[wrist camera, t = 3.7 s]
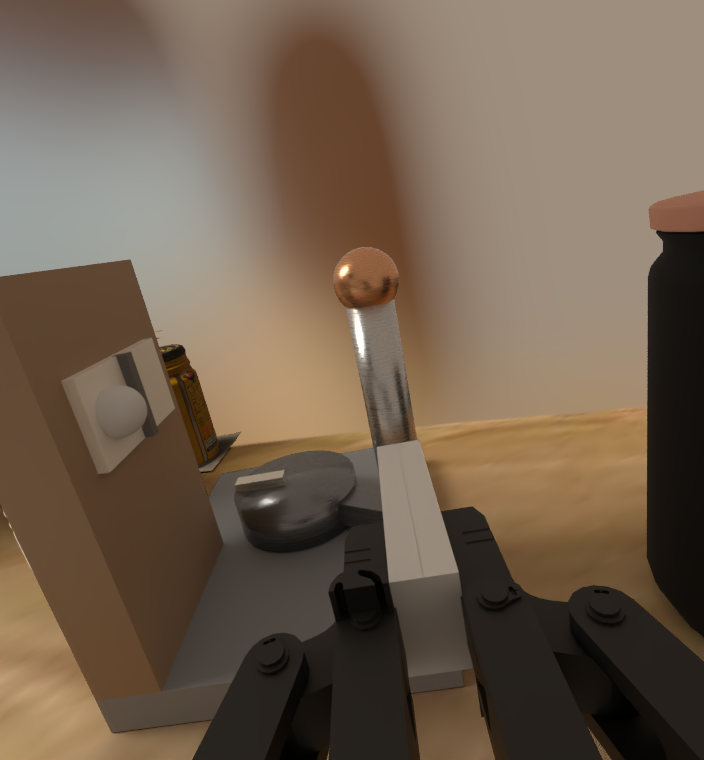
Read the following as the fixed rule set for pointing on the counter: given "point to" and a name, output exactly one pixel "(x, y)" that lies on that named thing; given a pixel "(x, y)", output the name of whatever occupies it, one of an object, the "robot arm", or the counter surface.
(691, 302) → the coffee jar
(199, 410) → the condiment
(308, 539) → the ball top joystick
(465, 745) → the counter surface
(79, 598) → the stand
